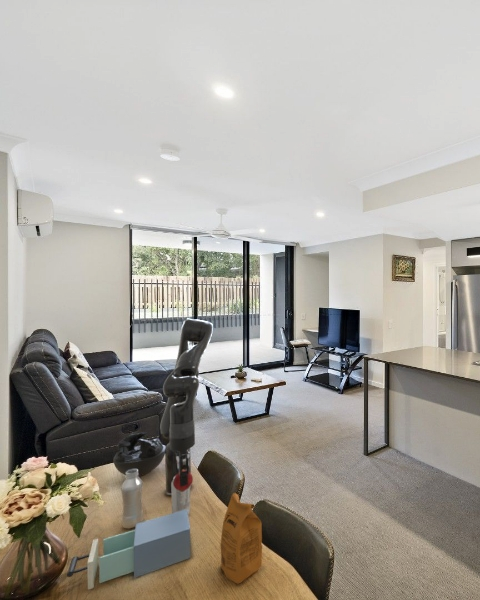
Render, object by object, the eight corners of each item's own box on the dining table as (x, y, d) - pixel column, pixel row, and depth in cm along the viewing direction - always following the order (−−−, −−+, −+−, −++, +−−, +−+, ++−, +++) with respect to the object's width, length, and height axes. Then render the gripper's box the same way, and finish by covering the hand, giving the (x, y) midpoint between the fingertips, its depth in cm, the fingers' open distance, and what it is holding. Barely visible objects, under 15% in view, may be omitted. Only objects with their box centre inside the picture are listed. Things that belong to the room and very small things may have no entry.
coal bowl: (128, 465, 177) (128, 427, 177) (173, 462, 181) (173, 424, 180) (103, 487, 158) (102, 444, 157) (154, 483, 161) (153, 441, 161)
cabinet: (134, 578, 108) (133, 546, 108) (136, 552, 118) (135, 523, 118) (190, 558, 116) (190, 528, 116) (187, 535, 126) (187, 508, 126)
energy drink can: (186, 508, 142) (186, 471, 142) (192, 514, 138) (192, 476, 138) (169, 516, 138) (168, 477, 137) (175, 522, 134) (174, 482, 133)
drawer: (65, 597, 100) (64, 570, 100) (73, 571, 109) (72, 545, 109) (145, 569, 110) (145, 544, 110) (146, 547, 119) (146, 524, 119)
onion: (196, 488, 128) (196, 465, 127) (182, 497, 122) (182, 473, 122) (184, 485, 129) (183, 463, 129) (169, 494, 124) (169, 471, 124)
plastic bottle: (132, 532, 128) (131, 476, 128) (116, 529, 130) (115, 474, 129) (148, 521, 135) (147, 468, 134) (133, 518, 136) (132, 466, 135)
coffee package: (246, 550, 120) (246, 484, 119) (266, 569, 111) (265, 498, 111) (215, 567, 112) (215, 497, 111) (234, 589, 104) (233, 514, 103)
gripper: (168, 429, 129) (169, 475, 129) (170, 443, 117) (171, 494, 118) (192, 424, 133) (193, 469, 134) (197, 437, 122) (197, 487, 122)
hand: (183, 481), depth 126 cm, fingers closed on onion, 6 cm apart
